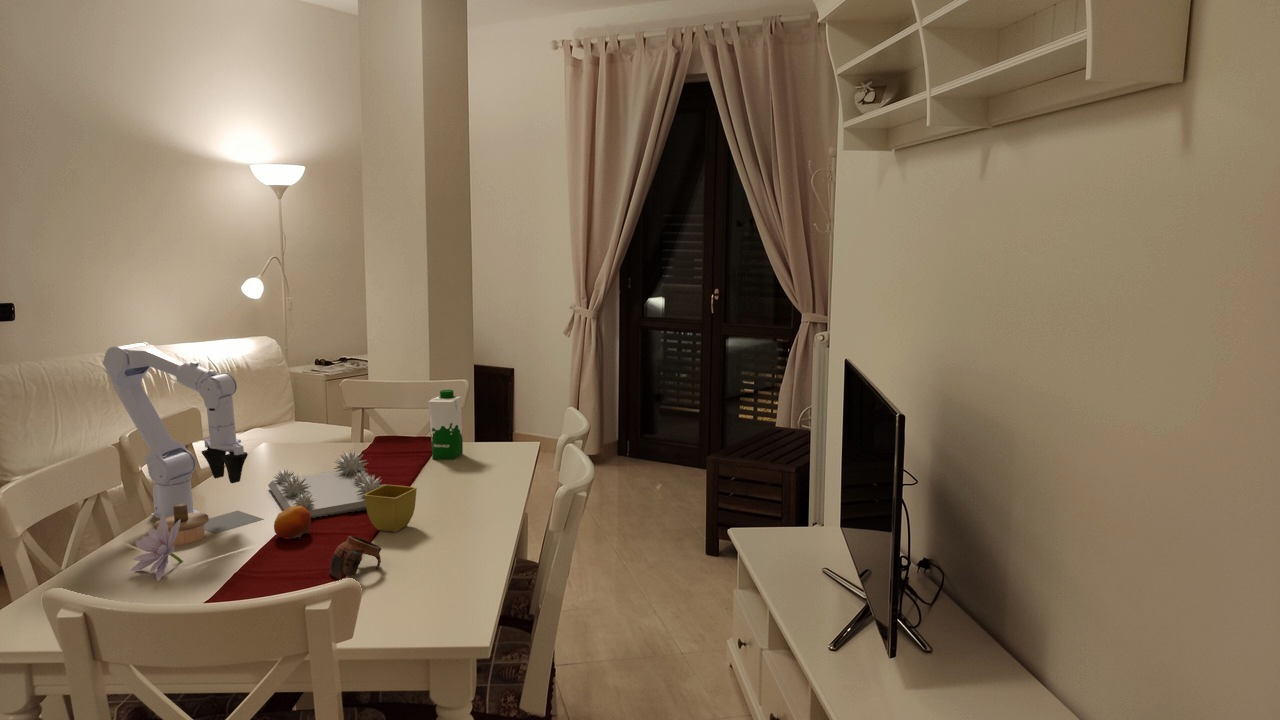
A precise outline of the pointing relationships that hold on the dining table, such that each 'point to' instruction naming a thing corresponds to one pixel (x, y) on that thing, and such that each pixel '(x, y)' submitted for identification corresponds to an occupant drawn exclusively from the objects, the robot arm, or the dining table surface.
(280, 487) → the decorative tray
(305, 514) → the fruit
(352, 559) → the pottery mug
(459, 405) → the milk carton
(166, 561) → the water lily
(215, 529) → the mat
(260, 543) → the dining table surface
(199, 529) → the bowl
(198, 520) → the lid
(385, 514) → the flower pot
